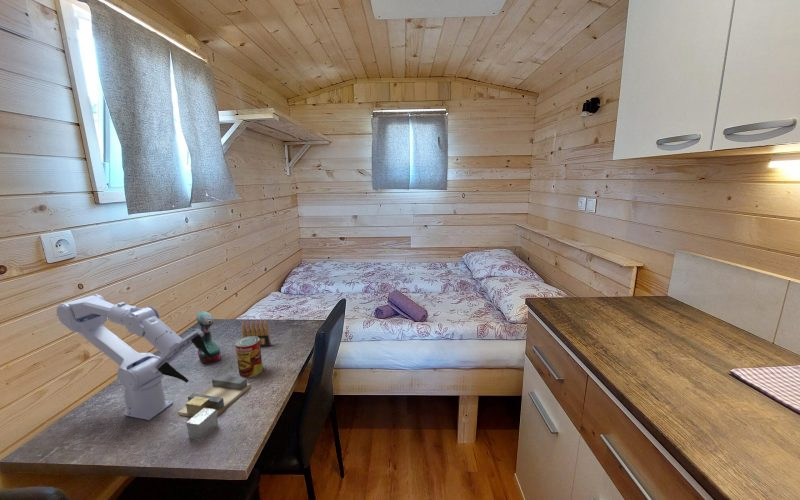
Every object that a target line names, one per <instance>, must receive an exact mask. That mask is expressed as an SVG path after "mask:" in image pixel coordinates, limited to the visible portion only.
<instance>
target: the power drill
mask: <svg viewBox="0 0 800 500" xmlns="http://www.w3.org/2000/svg"><path fill="white" fill-rule="evenodd" d="M196 314H197V315H196V321H197V323H198V324H199V326H200V330H201V331H202V332H203V333H204V335H203V336H202V339H203V341H204V344H205V347H206V349H207V351H208V352H209V353H210V354H211V355H212V357H213V359H212V360H210V359H209V358H208V357H207V356H206V355H205V354H204V353H203V352H202V351H200V350H199V349H198V348H197V355H198V359H199V361H200V362H201V363H203V364H208V363H212V362H215V361H218V360H221V357H220V355H221V348H220V346H219V345H218V343H217V342H216V340H214V339H213V338H212V332H211V326H213V325H214V323H215V321H214V317H213V315H212V314H211V313H210V312H207V311H205V310H204V311H200V312H198V313H196Z"/></svg>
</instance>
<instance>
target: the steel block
mask: <svg viewBox="0 0 800 500" xmlns="http://www.w3.org/2000/svg"><path fill="white" fill-rule="evenodd" d="M218 425H219V421H218V416H217V413H216V410H214V409H208V408H203V409H202V410H201V411H200V412H198V413H197V414H196V415H195V416H193V417H190V419H189V420H187V421H186V427H187V434H188V439H191V440H196V441H202V440H204V439H205V438H206V437H207V436H208V435H209V434H210V433H211V432H212V431H214V430H215V429H216V428H217V427H218Z"/></svg>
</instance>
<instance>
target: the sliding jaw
mask: <svg viewBox="0 0 800 500" xmlns="http://www.w3.org/2000/svg"><path fill="white" fill-rule="evenodd" d="M201 394H202V393H192V394H190V395H189V396H188V397H187V400H188V401H187V402H186V403H185V406H186V408H187V413H189V414H195V415H196V414H197V413H198V412H200V411H201V410H202V409H203V408H208V409H210V408H214V409H220V408H221V407H222V406H224V401H223V398H220V397H213V396H207V395H201Z"/></svg>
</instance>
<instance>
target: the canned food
mask: <svg viewBox="0 0 800 500" xmlns="http://www.w3.org/2000/svg"><path fill="white" fill-rule="evenodd" d="M235 350H236V351H235V352H236V360H237V368H238V373H239V374H238V376H240V378H246V379H247V378H253V377H256V376H258V375H260V374H261V373H262V372H263V360H262V351H261V347H260V340H259V338H258V337H256V336H248V337H244V338H239V339H237V340H236V342H235Z"/></svg>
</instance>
